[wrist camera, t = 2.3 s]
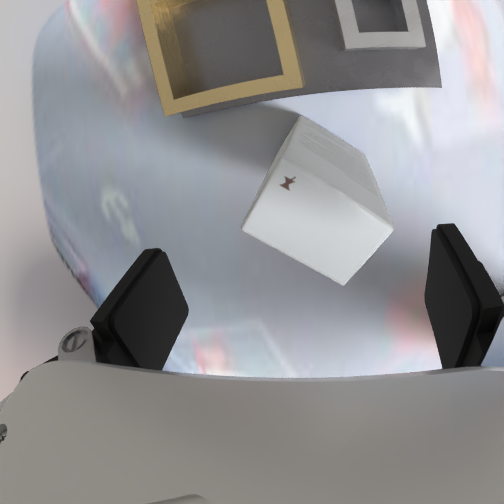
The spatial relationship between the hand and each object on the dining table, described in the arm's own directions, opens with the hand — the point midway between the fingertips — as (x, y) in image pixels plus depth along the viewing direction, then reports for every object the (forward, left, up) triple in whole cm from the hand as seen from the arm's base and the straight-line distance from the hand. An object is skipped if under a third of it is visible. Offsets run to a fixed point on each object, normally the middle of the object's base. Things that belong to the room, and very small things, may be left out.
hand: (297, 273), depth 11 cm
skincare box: (0, 0, -16) cm, 16 cm away
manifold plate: (0, -10, -16) cm, 19 cm away
